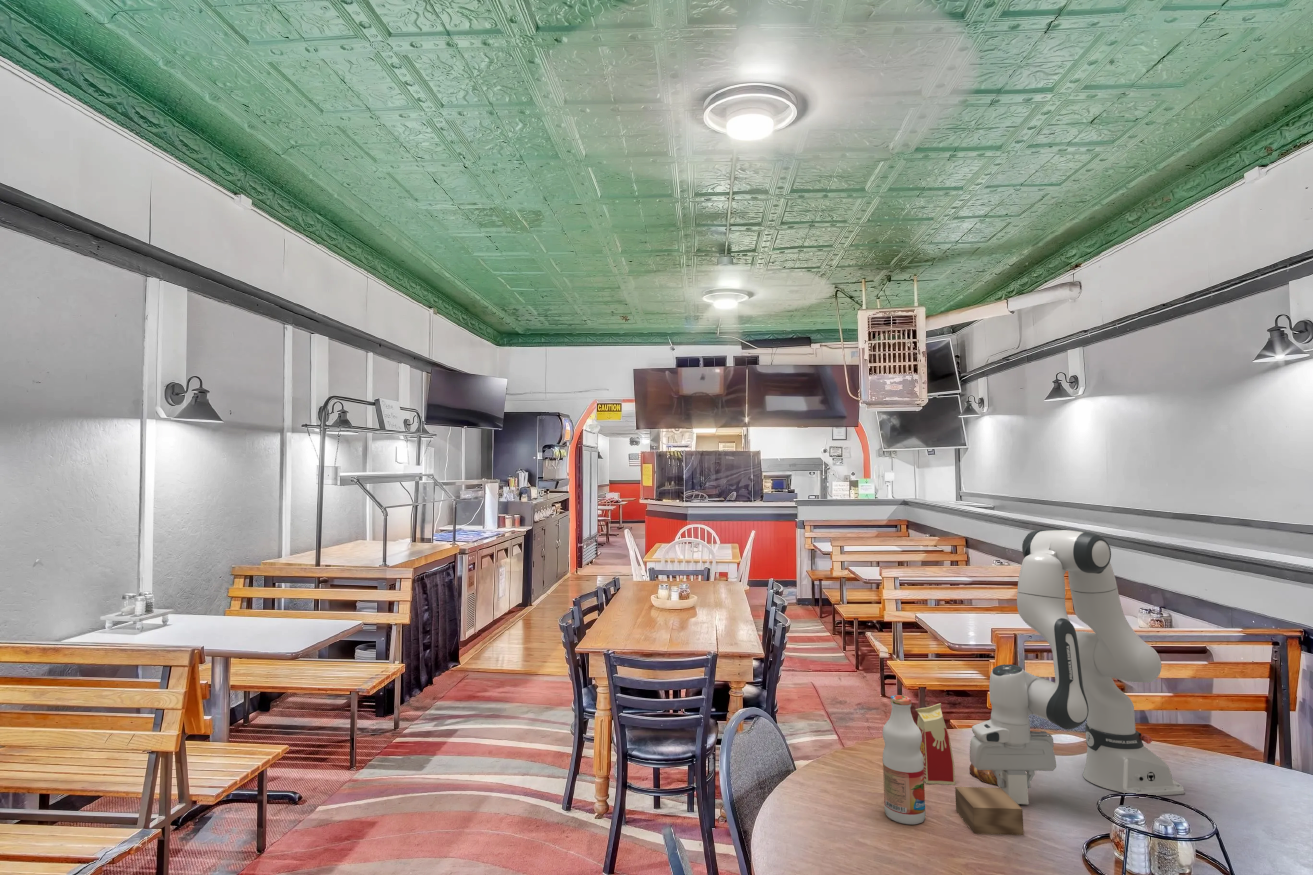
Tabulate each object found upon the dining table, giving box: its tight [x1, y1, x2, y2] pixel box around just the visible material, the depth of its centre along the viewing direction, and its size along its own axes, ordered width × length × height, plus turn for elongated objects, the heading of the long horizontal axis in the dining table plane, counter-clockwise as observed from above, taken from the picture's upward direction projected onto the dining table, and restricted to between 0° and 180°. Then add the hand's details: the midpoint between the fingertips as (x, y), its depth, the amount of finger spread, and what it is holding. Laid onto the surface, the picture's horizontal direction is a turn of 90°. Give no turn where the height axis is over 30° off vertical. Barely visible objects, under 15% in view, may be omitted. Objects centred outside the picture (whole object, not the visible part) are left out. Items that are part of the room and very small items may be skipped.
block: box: [954, 786, 1025, 836], centre depth 156 cm, size 11×11×6 cm
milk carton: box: [915, 702, 956, 786], centre depth 182 cm, size 9×9×20 cm
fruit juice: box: [882, 694, 926, 825], centre depth 160 cm, size 9×9×28 cm
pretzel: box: [968, 762, 1000, 787], centre depth 181 cm, size 12×11×4 cm
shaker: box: [1000, 770, 1029, 805], centre depth 167 cm, size 5×5×8 cm
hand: (1014, 786), depth 167 cm, fingers closed on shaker, 5 cm apart
